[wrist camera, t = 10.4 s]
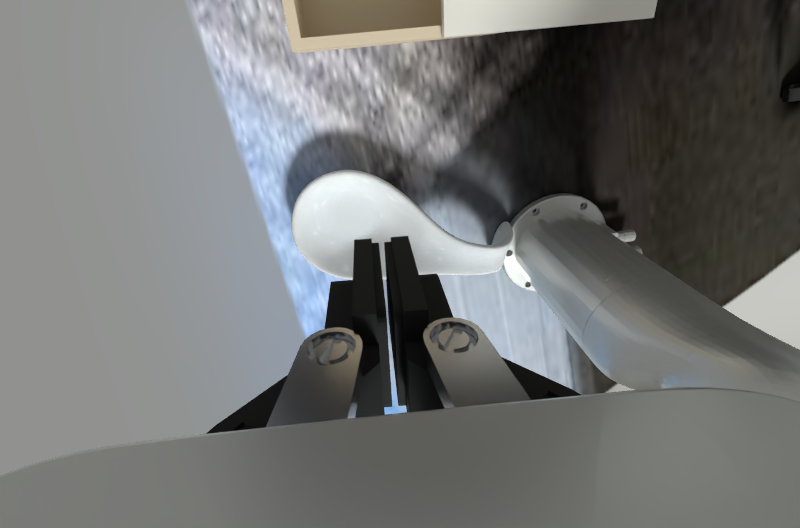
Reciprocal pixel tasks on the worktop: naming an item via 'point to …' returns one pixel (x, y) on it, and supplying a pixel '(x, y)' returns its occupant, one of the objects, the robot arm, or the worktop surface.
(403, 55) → the worktop surface
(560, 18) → the lid
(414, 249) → the spoon rest
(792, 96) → the coffee press
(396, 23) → the box
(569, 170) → the worktop surface
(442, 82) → the worktop surface
